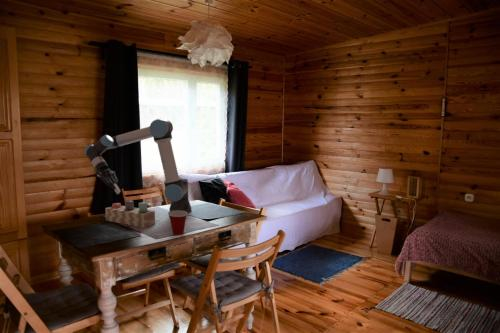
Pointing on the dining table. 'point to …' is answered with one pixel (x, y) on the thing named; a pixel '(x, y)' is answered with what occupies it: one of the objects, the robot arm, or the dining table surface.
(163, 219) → the dining table surface
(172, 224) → the plastic cup
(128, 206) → the grey button
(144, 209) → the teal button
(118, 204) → the red button
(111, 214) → the control box
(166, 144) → the robot arm
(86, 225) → the dining table surface
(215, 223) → the dining table surface
